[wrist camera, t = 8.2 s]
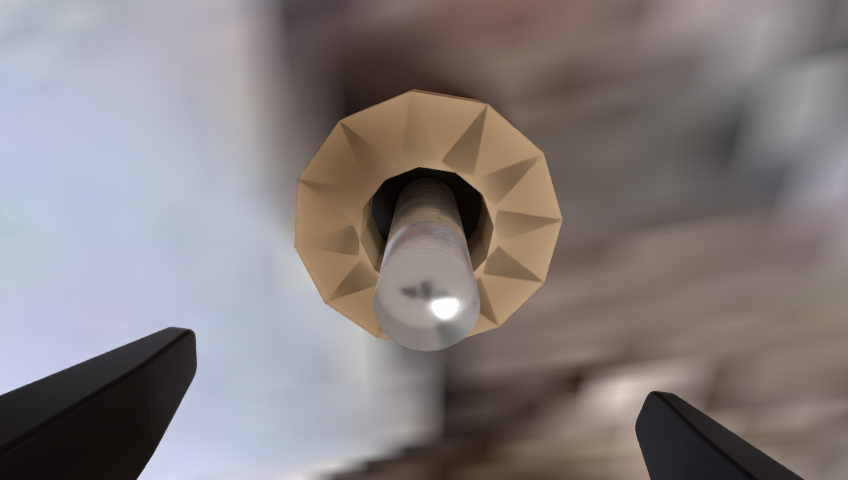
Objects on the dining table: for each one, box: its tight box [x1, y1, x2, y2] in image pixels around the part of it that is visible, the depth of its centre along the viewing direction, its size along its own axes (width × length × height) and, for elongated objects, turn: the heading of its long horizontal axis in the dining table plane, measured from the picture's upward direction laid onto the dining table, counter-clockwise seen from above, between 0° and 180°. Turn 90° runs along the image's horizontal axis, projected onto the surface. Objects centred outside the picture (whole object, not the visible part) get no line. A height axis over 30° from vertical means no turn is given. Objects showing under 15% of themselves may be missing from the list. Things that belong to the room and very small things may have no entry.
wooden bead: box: [295, 89, 562, 340], centre depth 18 cm, size 10×10×4 cm
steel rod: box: [373, 178, 480, 351], centre depth 15 cm, size 3×3×9 cm
